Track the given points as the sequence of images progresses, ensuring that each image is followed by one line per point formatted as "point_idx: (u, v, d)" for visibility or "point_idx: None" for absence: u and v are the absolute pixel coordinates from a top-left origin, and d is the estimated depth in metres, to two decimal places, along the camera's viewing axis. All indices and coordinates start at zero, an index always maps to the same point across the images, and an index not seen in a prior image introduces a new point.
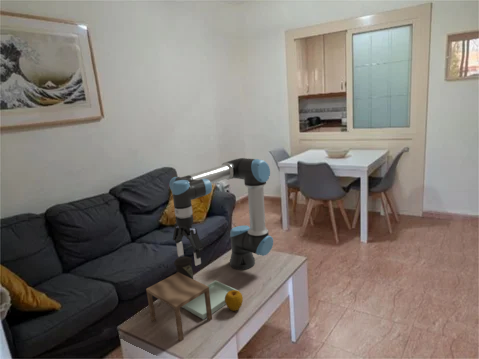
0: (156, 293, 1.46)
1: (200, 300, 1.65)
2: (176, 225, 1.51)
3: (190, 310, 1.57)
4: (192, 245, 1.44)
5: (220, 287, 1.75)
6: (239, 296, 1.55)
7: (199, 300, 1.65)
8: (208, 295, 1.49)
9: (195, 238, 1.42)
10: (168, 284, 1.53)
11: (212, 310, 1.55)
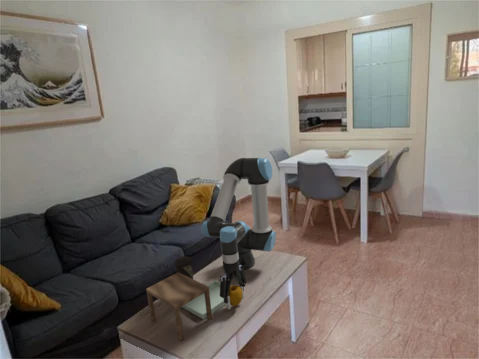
0: (156, 293, 1.46)
1: (200, 300, 1.65)
2: None
3: (190, 310, 1.57)
4: None
5: None
6: (239, 291, 1.55)
7: (199, 300, 1.65)
8: (208, 295, 1.49)
9: (221, 285, 1.51)
10: (168, 284, 1.53)
11: (212, 310, 1.55)
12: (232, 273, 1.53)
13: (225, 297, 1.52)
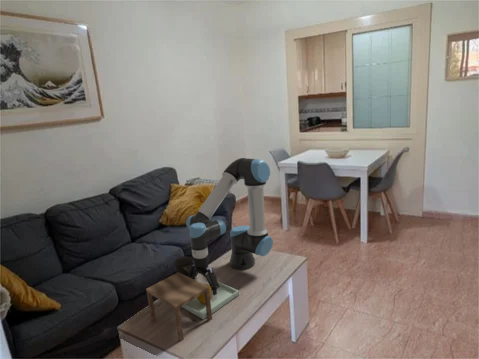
0: (156, 293, 1.46)
1: None
2: (192, 264, 1.62)
3: (190, 310, 1.57)
4: (209, 283, 1.56)
5: (220, 287, 1.75)
6: None
7: None
8: (208, 295, 1.49)
9: (212, 277, 1.54)
10: (168, 284, 1.53)
11: (212, 310, 1.55)
12: None
13: None
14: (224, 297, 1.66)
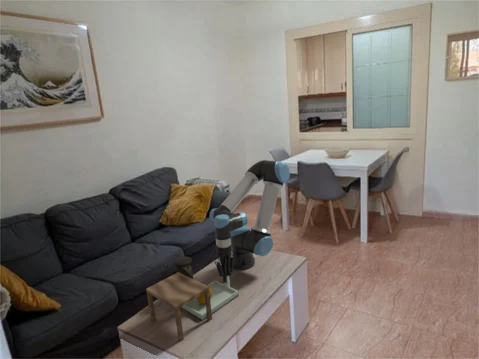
0: (156, 293, 1.46)
1: None
2: (230, 254, 1.75)
3: (189, 310, 1.57)
4: None
5: (220, 287, 1.75)
6: None
7: None
8: (208, 295, 1.49)
9: (218, 268, 1.68)
10: (168, 284, 1.53)
11: (211, 310, 1.55)
12: (224, 257, 1.68)
13: (224, 277, 1.71)
14: (224, 297, 1.66)
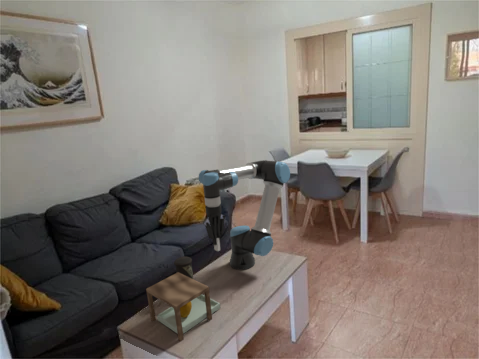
0: (156, 293, 1.46)
1: None
2: None
3: (167, 325, 1.48)
4: (212, 231, 1.63)
5: (201, 299, 1.66)
6: None
7: None
8: (208, 295, 1.49)
9: (207, 229, 1.60)
10: (168, 284, 1.53)
11: (190, 325, 1.46)
12: (214, 217, 1.60)
13: (214, 239, 1.62)
14: (204, 310, 1.57)
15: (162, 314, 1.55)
